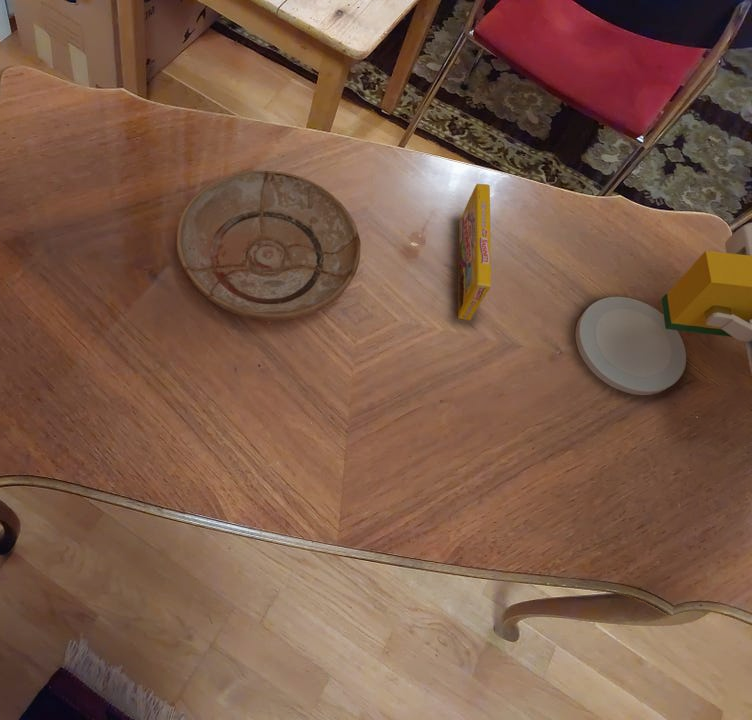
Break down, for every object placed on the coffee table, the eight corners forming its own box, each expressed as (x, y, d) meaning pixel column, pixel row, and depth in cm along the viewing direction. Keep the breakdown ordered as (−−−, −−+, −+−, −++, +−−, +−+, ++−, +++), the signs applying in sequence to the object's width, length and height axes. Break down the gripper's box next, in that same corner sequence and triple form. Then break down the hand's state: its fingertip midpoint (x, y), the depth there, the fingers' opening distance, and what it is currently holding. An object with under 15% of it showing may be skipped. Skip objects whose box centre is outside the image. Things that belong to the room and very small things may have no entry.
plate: (700, 352, 86) (706, 348, 85) (643, 416, 81) (649, 412, 80) (613, 283, 90) (618, 278, 89) (554, 340, 85) (558, 335, 84)
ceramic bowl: (326, 360, 81) (333, 341, 77) (150, 302, 83) (147, 280, 79) (372, 222, 92) (380, 198, 87) (214, 173, 94) (214, 147, 89)
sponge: (661, 298, 75) (705, 249, 67) (726, 306, 74) (778, 258, 66) (665, 329, 73) (710, 282, 65) (732, 337, 72) (786, 291, 64)
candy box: (455, 222, 93) (476, 181, 86) (470, 224, 93) (492, 184, 86) (454, 318, 86) (477, 283, 78) (471, 321, 86) (495, 286, 78)
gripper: (834, 223, 72) (710, 200, 72) (885, 388, 62) (742, 362, 62) (789, 257, 77) (674, 236, 77) (830, 414, 68) (699, 390, 68)
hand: (705, 293), depth 70 cm, fingers closed on sponge, 4 cm apart
